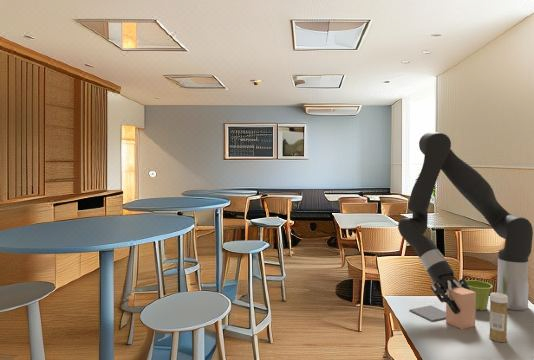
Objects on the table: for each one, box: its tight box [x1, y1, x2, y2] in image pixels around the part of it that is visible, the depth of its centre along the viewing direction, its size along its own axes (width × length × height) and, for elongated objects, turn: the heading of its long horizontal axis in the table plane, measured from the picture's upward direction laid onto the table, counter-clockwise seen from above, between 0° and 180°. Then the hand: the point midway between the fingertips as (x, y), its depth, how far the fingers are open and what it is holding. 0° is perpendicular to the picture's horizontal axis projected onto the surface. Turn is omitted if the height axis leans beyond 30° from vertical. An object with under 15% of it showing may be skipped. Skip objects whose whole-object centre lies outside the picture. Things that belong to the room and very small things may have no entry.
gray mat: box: [409, 304, 446, 322], centre depth 131 cm, size 10×10×1 cm
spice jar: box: [488, 291, 508, 343], centre depth 112 cm, size 5×5×13 cm
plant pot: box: [465, 279, 493, 311], centre depth 137 cm, size 9×9×9 cm
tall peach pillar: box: [445, 287, 477, 330], centre depth 123 cm, size 6×6×11 cm
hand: (465, 311), depth 121 cm, fingers closed on tall peach pillar, 6 cm apart
